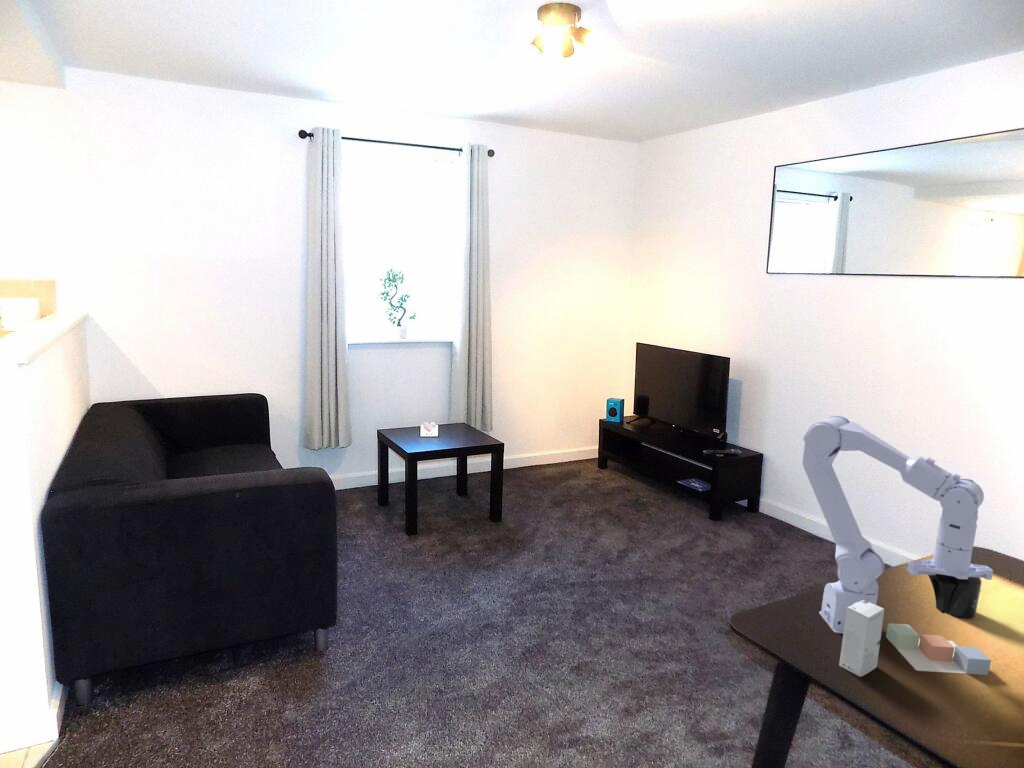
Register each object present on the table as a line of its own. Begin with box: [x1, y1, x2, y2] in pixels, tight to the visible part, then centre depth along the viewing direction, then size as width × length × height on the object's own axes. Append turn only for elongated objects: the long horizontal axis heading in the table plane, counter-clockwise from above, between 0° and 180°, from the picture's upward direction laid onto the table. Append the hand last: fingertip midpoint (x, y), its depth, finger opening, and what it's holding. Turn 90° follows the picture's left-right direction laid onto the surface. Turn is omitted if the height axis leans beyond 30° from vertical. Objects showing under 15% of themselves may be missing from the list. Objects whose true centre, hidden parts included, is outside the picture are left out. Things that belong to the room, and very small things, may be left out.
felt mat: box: [885, 636, 987, 676], centre depth 127 cm, size 13×11×1 cm
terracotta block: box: [919, 634, 954, 662], centre depth 127 cm, size 4×4×3 cm
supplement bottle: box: [946, 559, 982, 620], centre depth 143 cm, size 7×7×12 cm
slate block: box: [953, 645, 992, 676], centre depth 123 cm, size 4×4×3 cm
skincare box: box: [838, 600, 885, 678], centre depth 122 cm, size 6×4×12 cm
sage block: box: [885, 622, 921, 650], centre depth 130 cm, size 4×4×3 cm
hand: (942, 610), depth 125 cm, fingers closed
